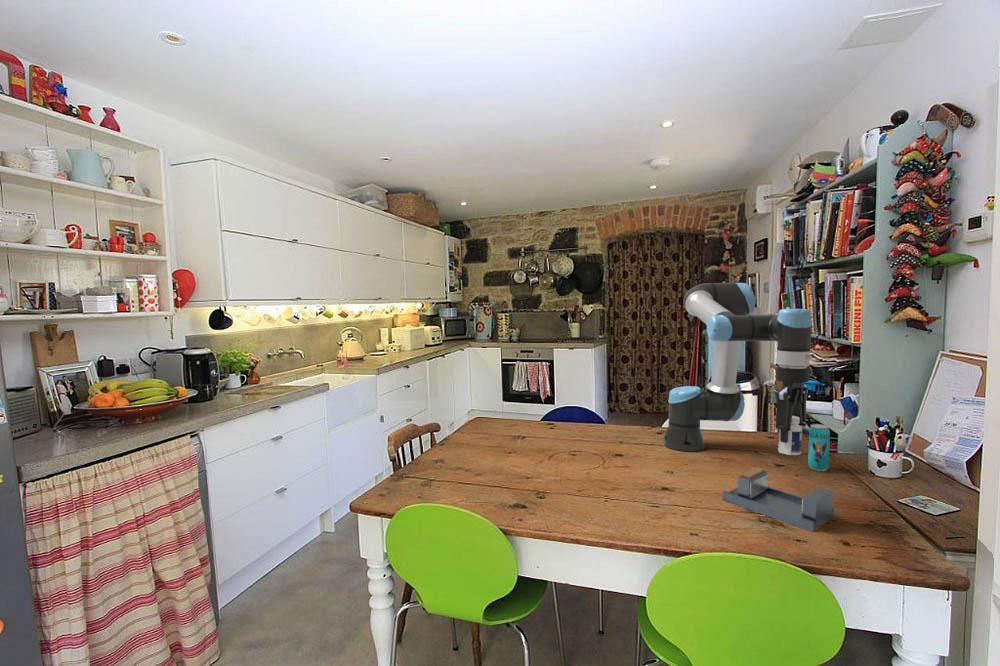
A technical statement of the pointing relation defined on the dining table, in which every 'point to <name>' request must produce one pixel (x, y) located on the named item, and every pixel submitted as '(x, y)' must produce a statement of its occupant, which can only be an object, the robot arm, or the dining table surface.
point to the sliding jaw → (752, 483)
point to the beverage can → (819, 447)
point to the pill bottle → (795, 436)
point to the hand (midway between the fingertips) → (790, 451)
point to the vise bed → (789, 506)
